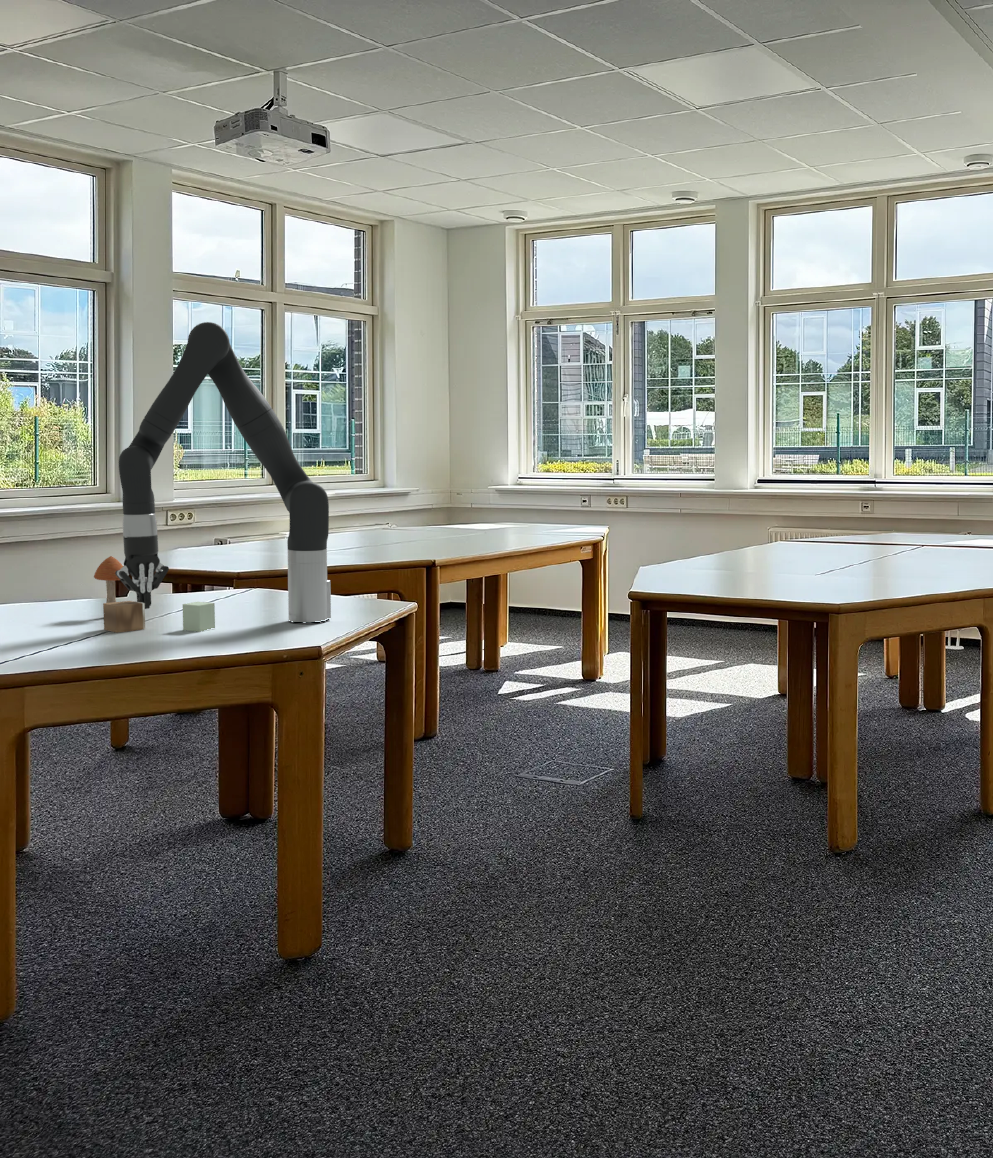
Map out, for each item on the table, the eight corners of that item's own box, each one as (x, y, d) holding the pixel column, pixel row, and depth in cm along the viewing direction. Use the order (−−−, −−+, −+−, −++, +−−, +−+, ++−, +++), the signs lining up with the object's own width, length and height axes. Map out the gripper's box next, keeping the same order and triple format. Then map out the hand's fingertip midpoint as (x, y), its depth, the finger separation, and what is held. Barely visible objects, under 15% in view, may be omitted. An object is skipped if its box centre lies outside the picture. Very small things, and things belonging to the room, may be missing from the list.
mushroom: (118, 620, 282) (117, 557, 281) (88, 619, 284) (86, 557, 282) (135, 615, 290) (133, 554, 288) (105, 614, 292) (103, 554, 290)
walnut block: (131, 600, 273) (103, 603, 268) (144, 603, 268) (115, 606, 263) (132, 626, 273) (104, 629, 268) (145, 629, 269) (116, 632, 264)
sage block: (198, 627, 272) (197, 601, 272) (215, 629, 270) (214, 603, 269) (183, 630, 268) (182, 604, 267) (200, 632, 266) (199, 605, 265)
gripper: (157, 530, 277) (161, 603, 280) (105, 535, 268) (109, 610, 270) (174, 532, 272) (178, 606, 274) (122, 536, 263) (126, 613, 265)
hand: (144, 608), depth 272 cm, fingers closed
